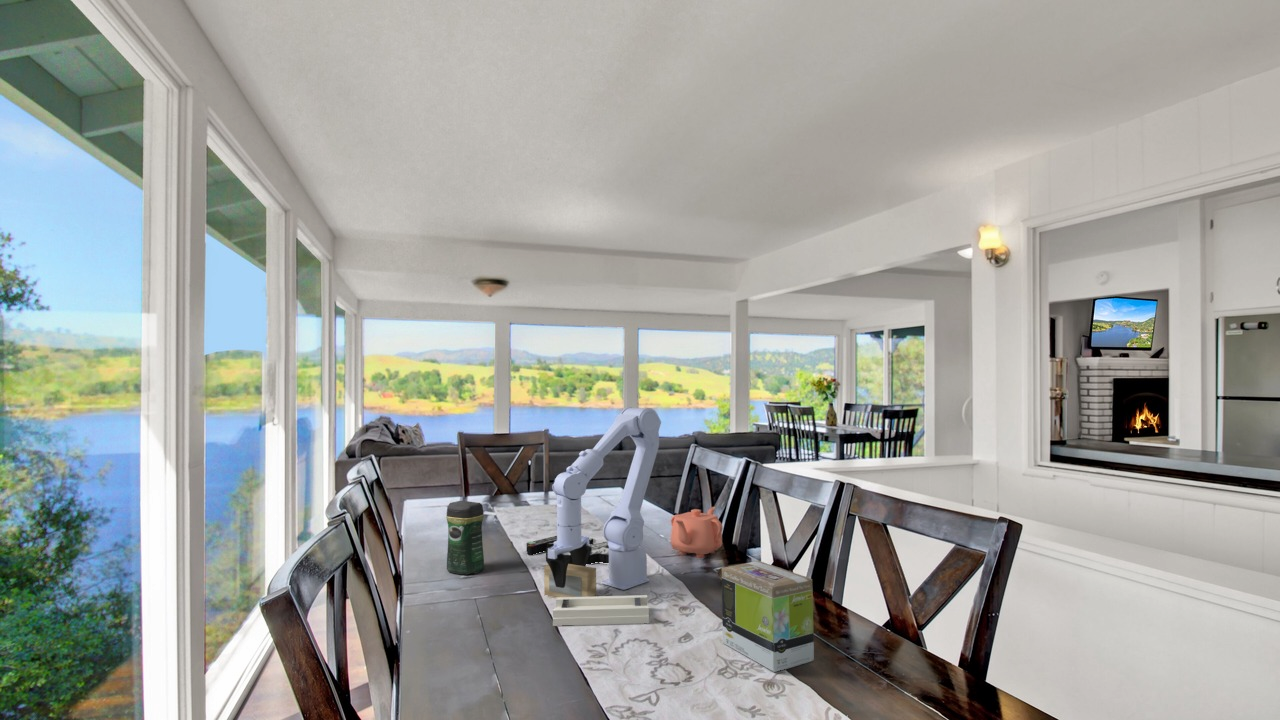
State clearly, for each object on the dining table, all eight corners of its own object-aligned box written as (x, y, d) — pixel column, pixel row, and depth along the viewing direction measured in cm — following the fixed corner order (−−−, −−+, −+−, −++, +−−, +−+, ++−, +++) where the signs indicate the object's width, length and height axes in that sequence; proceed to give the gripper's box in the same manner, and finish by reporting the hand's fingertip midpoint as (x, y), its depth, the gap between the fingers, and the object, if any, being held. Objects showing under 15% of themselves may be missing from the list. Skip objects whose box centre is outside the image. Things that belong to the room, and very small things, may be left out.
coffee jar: (489, 569, 173) (488, 500, 173) (468, 577, 166) (467, 505, 166) (462, 564, 177) (462, 497, 178) (441, 572, 170) (441, 502, 171)
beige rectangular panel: (554, 590, 155) (554, 561, 155) (596, 598, 149) (596, 567, 149) (544, 595, 151) (543, 566, 151) (586, 603, 145) (586, 572, 146)
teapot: (715, 545, 195) (714, 503, 195) (729, 560, 178) (728, 514, 179) (667, 547, 193) (666, 505, 193) (676, 562, 176) (675, 516, 177)
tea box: (816, 661, 114) (814, 578, 115) (773, 674, 109) (771, 587, 110) (761, 632, 127) (759, 558, 128) (720, 643, 122) (719, 566, 123)
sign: (570, 532, 203) (638, 548, 182) (570, 541, 202) (639, 559, 182) (521, 543, 189) (589, 563, 168) (521, 554, 189) (589, 574, 168)
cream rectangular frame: (647, 607, 142) (646, 594, 142) (649, 623, 133) (649, 608, 133) (556, 610, 141) (556, 596, 141) (552, 626, 132) (552, 611, 132)
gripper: (572, 516, 159) (572, 571, 158) (536, 528, 146) (536, 588, 145) (596, 519, 155) (596, 575, 155) (562, 531, 143) (562, 593, 142)
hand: (569, 582), depth 150 cm, fingers open, 7 cm apart
